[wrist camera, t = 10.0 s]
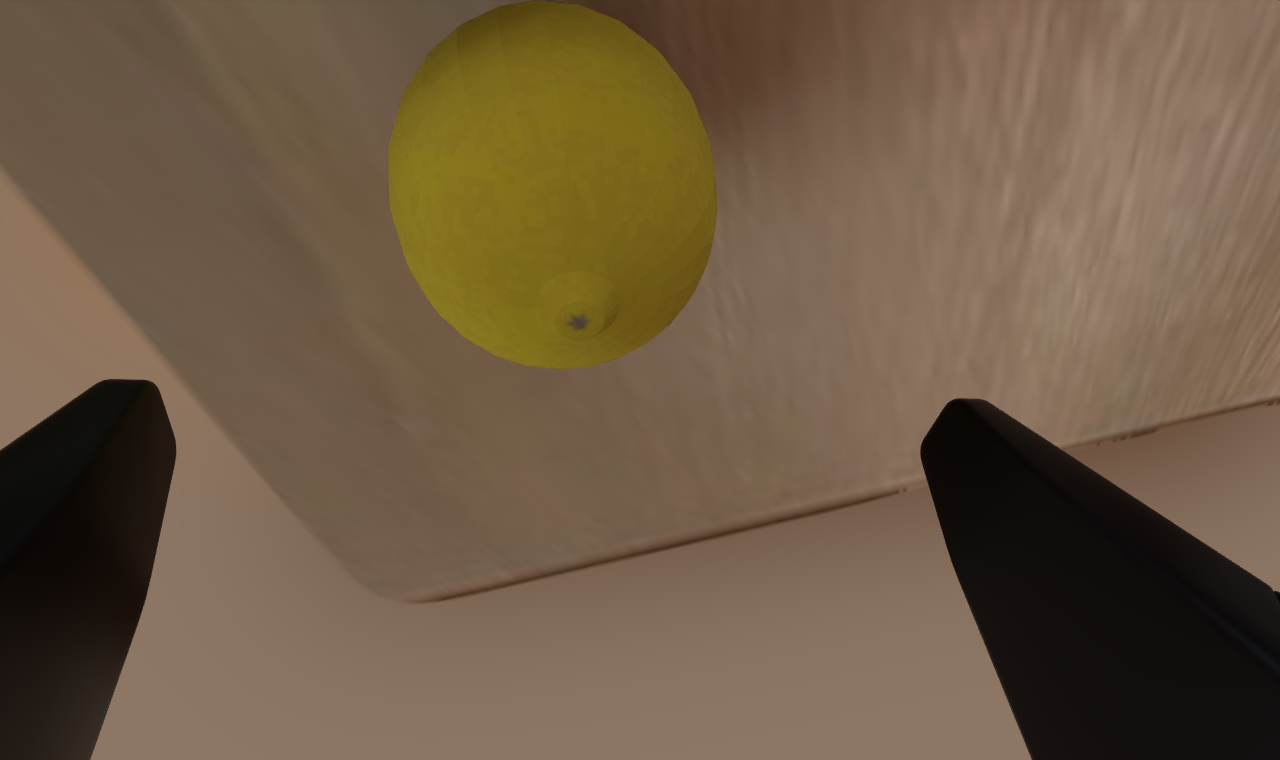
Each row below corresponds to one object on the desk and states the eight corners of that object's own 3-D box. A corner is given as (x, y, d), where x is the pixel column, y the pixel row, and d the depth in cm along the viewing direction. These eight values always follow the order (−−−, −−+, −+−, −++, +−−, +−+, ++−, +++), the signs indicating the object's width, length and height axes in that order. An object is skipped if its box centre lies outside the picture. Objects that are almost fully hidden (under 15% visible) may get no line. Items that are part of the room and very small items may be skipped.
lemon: (641, -81, 14) (770, 75, 8) (677, 180, 17) (781, 413, 12) (356, -15, 14) (275, 191, 8) (455, 233, 17) (451, 494, 12)
